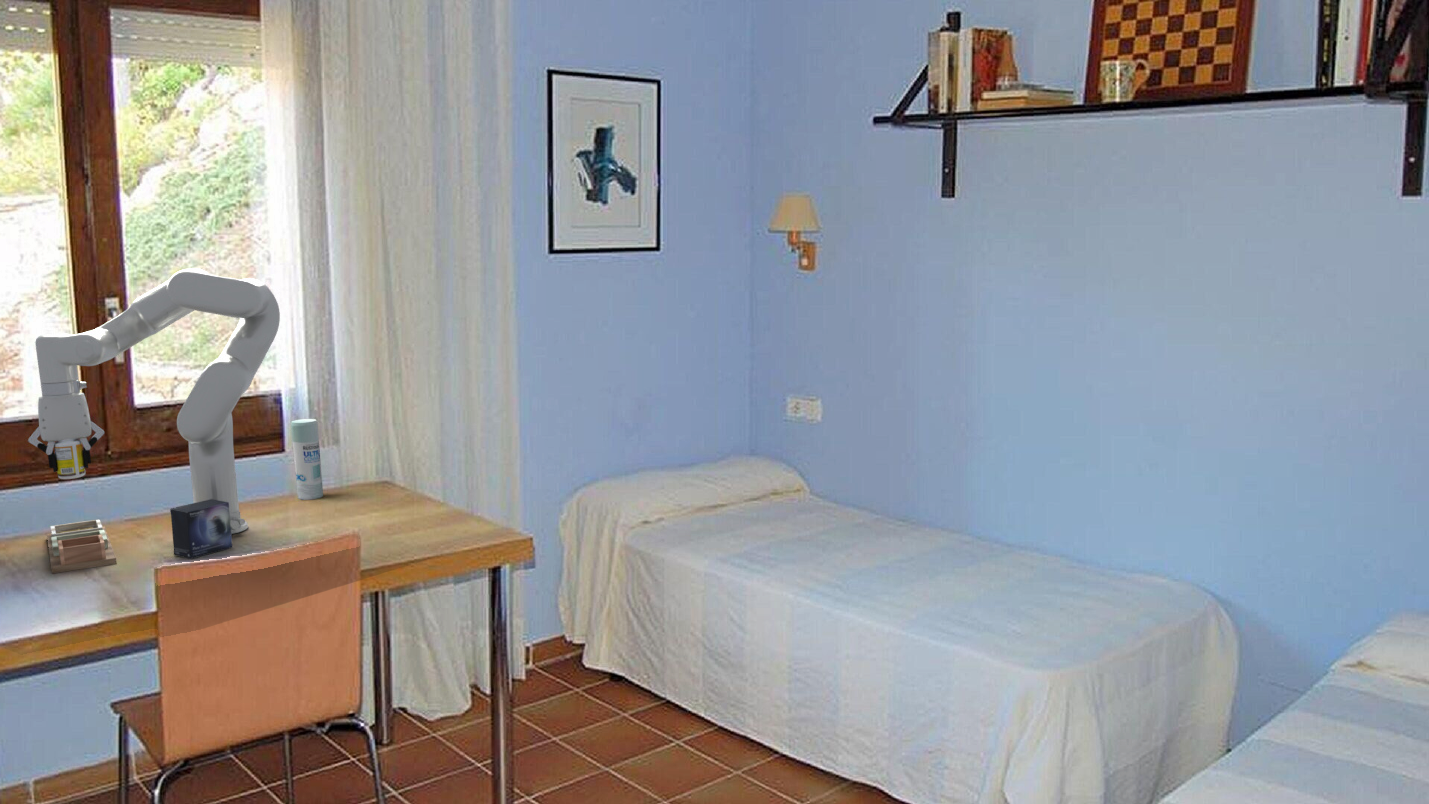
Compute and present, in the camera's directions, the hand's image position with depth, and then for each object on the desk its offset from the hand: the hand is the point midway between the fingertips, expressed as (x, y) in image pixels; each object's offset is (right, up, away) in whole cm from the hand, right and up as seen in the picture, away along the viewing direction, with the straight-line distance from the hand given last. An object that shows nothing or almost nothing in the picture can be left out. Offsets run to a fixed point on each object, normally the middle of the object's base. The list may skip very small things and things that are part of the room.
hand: (70, 468), depth 273 cm
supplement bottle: (0, -2, 0) cm, 2 cm away
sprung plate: (0, -16, +3) cm, 16 cm away
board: (+5, -18, -5) cm, 19 cm away
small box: (+34, -18, -9) cm, 39 cm away
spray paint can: (+40, -10, +42) cm, 59 cm away
